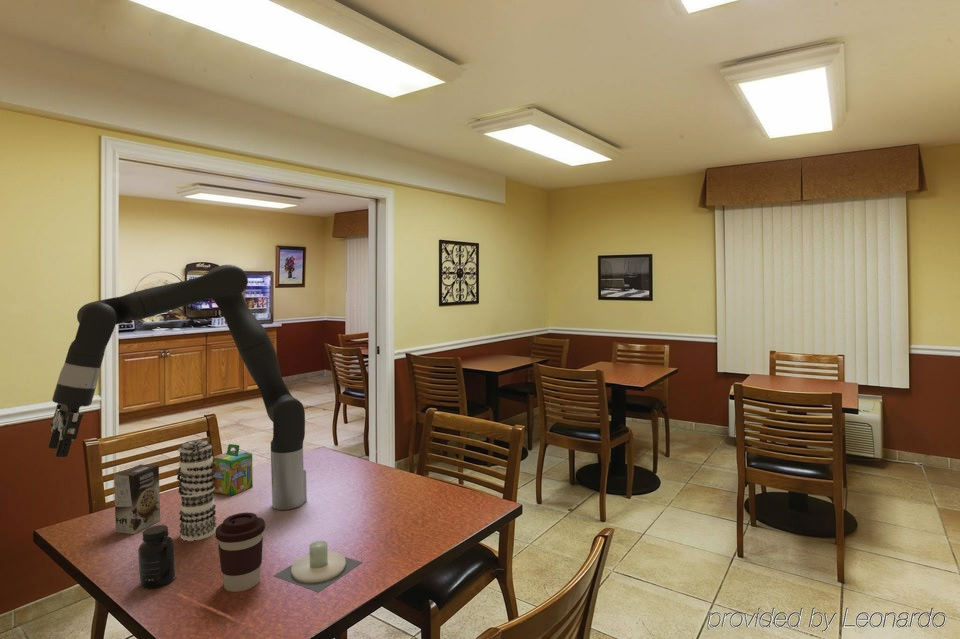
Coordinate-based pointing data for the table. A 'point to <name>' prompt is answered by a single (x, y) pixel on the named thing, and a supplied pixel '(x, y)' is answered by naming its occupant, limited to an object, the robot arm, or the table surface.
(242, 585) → the coffee cup
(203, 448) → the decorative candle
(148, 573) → the supplement bottle
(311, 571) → the lid
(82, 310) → the robot arm
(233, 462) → the chalk box
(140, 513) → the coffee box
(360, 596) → the table surface
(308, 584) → the mat
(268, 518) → the table surface
